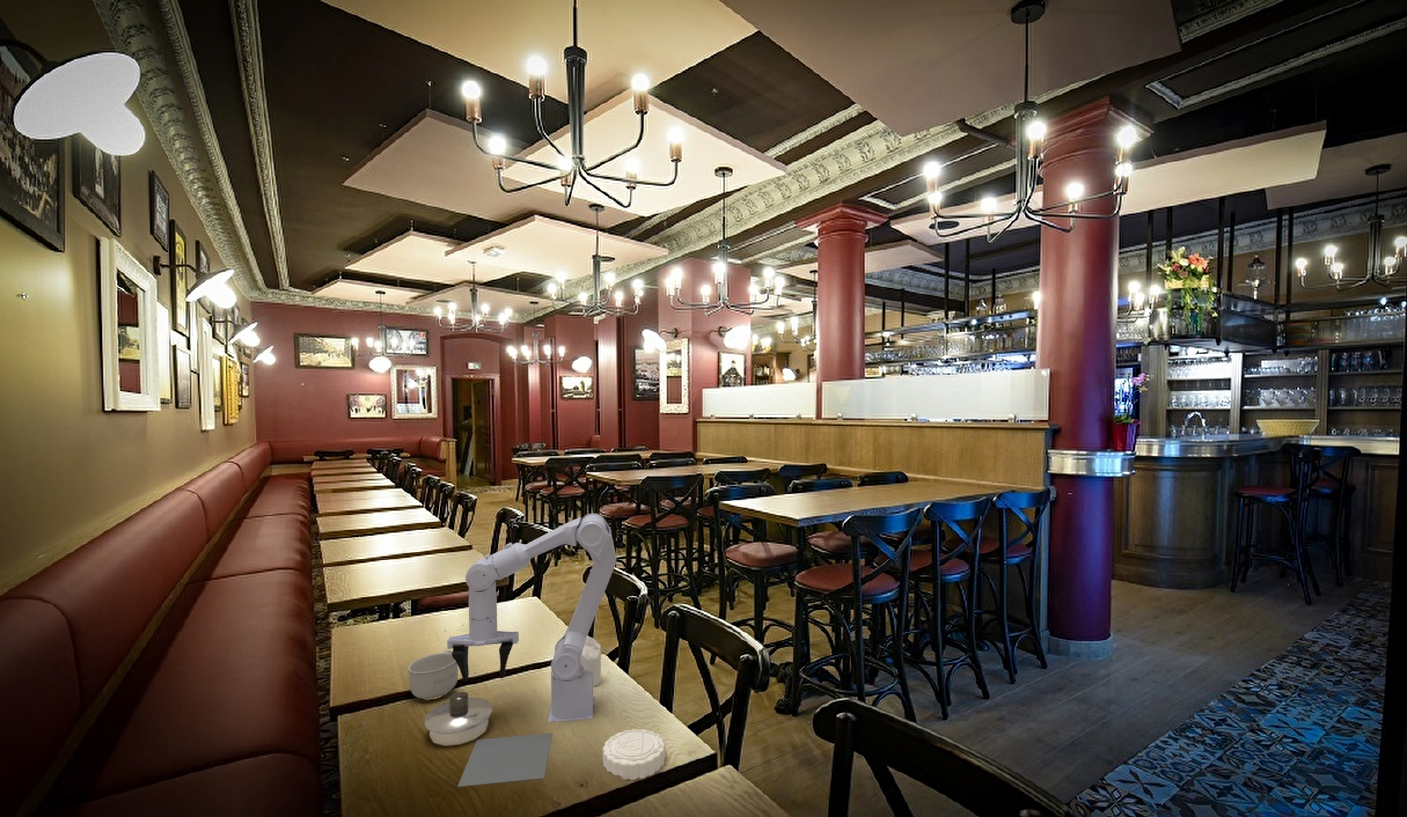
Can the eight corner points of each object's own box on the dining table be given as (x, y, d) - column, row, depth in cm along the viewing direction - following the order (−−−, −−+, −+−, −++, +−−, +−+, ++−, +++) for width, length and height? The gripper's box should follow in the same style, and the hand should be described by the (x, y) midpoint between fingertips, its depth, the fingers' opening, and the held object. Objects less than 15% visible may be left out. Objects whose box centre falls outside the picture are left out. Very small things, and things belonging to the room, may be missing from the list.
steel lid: (495, 697, 130) (494, 678, 130) (488, 728, 118) (487, 707, 118) (432, 705, 127) (431, 685, 127) (418, 737, 115) (417, 716, 115)
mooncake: (605, 745, 118) (605, 727, 118) (664, 742, 119) (664, 724, 119) (600, 783, 106) (599, 764, 106) (666, 779, 107) (666, 759, 107)
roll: (602, 630, 147) (598, 638, 142) (603, 677, 147) (599, 688, 142) (578, 630, 147) (574, 639, 142) (579, 677, 147) (574, 688, 142)
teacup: (439, 707, 133) (438, 672, 133) (397, 703, 135) (397, 668, 135) (474, 679, 147) (474, 648, 147) (436, 676, 149) (436, 645, 149)
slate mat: (552, 735, 121) (552, 733, 121) (543, 780, 107) (543, 778, 107) (477, 742, 119) (477, 739, 119) (457, 789, 104) (457, 786, 104)
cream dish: (492, 716, 129) (492, 700, 129) (481, 744, 118) (480, 727, 118) (439, 720, 127) (439, 704, 127) (423, 749, 117) (423, 732, 117)
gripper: (442, 625, 122) (444, 689, 122) (514, 619, 125) (516, 683, 125) (451, 613, 129) (452, 674, 129) (519, 608, 132) (520, 668, 132)
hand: (484, 678), depth 127 cm, fingers open, 7 cm apart
